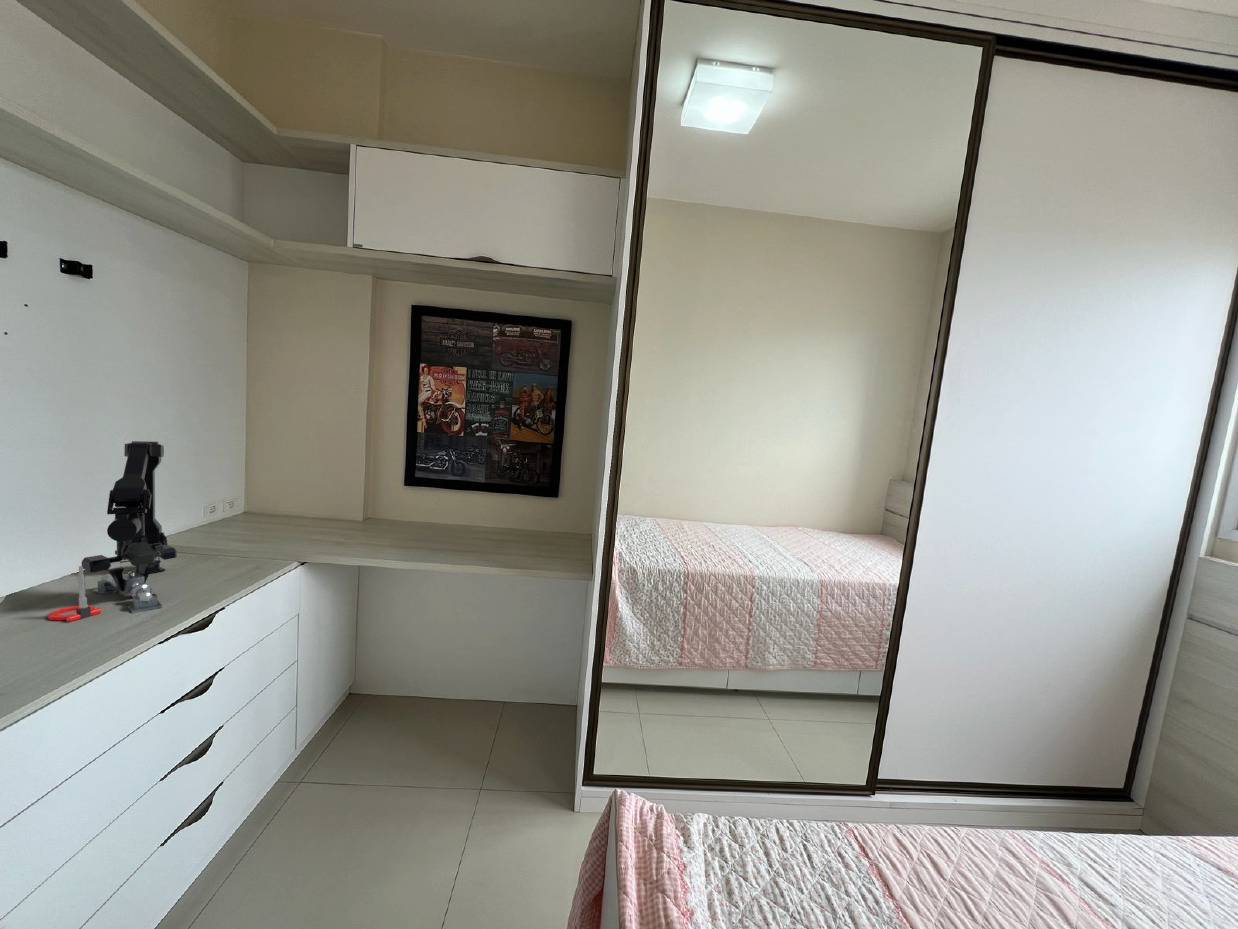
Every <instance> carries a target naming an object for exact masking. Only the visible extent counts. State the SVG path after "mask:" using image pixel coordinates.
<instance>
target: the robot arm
mask: <svg viewBox="0 0 1238 929" xmlns="http://www.w3.org/2000/svg"><path fill="white" fill-rule="evenodd" d="M164 447H165V446H164V445H162V444H160V443H159V441H147V440H145V441H141V440H139V441H138V440H132V441H131V442H128V443H124V455H123V456H124V457H126V458H127V459H126V462H125V467H124V471H123V475H122V477H121V478H119V479H118V480H116V481H115V482H114V484H113V489H110V491H109V496H108V497H109V498H108V501H107V502H108V503H107V509H106V512H107V513H106V514H107V515H114V520H113V521H112V522H111V523H109V525H108V527H107V528H106V529H107V530H106V531H107V532H106V533H107V536H108V537H109V538H110V539H111V540H113V541H116V550H114V555H115V556H111V557H107V556H104V555H102V554H98V555H93V556H87V557H84V558H82V560H81V566H83V570H85V571H87V572H88V573H98V572H103V571H105V572H108V574H110V575H111V576H112V577H113V579H114V581H115V583H116V584H117V586H118V588H119V590H120V591H124V583H123V572H124V569H125V568H124V567H121V564H123V563H128V562H129V563H130V564H131V566H133V567H135V568H132V569H130V571H129V572H131V571H135V573H138V574H140V575H143V576H144V582H145V583H146V582H147V580H148V577H149V575H150V574H155V573H161V572H165V571H166V569H165V568H164V567H163V566H161V559H162V560H165V561H166V560H171V559H176V558H177V554H178V553H177V550H176V548H175V547H173V546H170V545H169V544H168V538H167V536H166V535H165V532H163V528H162V527H163V526H162V525H161V524H160V523H159V521H158V519H156V485H155V484H156V482H155V481H156V473H155V471H156V469H157V468H158V467H159V465H160V464H161V462H162V458H164V455H165V449H164Z"/></svg>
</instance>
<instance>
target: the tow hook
mask: <svg viewBox="0 0 1238 929" xmlns="http://www.w3.org/2000/svg"><path fill="white" fill-rule="evenodd" d="M77 580H78V582H77V583H78V605H74V606H69V607H68V606H67V607H63V608H59V609H56V610H53V611H51V612H49V613H48V614H47V619H48V620H50V621H66V622H67V623H71V622H74V621H78V620H83V619H86V618H90V617H92V616H95V615H98V614H100V613H102V609H101V608H100V607H97V608H96V607H95V606H93V605H88V597H87V593H86V592H87V590H86V575H85V573H84V569H83V566H82V565H80V566H78V575H77ZM68 612H76V613H75V614H74V613H72V614H64V613H68ZM61 614H62V615H61Z"/></svg>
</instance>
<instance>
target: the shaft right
mask: <svg viewBox="0 0 1238 929" xmlns="http://www.w3.org/2000/svg"><path fill="white" fill-rule="evenodd" d="M131 597H132V605H131V604H130V605H128V609H129V611H130V612H131V614H134V613H141V612H146V611H153V610H156V609H157V610H158V609H162V608H163V605H162V603H161V602H160V601H159V600H158V595H157V594H156V593H153V589H152V587H151V585H149V584H148V583H145V584H138V585H136V586H134V587H133V588H132V590H131Z"/></svg>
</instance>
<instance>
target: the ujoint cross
mask: <svg viewBox="0 0 1238 929" xmlns="http://www.w3.org/2000/svg"><path fill="white" fill-rule="evenodd" d="M124 575H125V576H123V583H124V591H120V590H119V591H118V592H119V594H121V595H123V596H124V597H130V596H131V590H132V588H133V587H134V586H136V585H138V584H146V582H144V576H143V575H140V574H138V573H135V571H128V572H127V574H124ZM131 597H132V596H131Z"/></svg>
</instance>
